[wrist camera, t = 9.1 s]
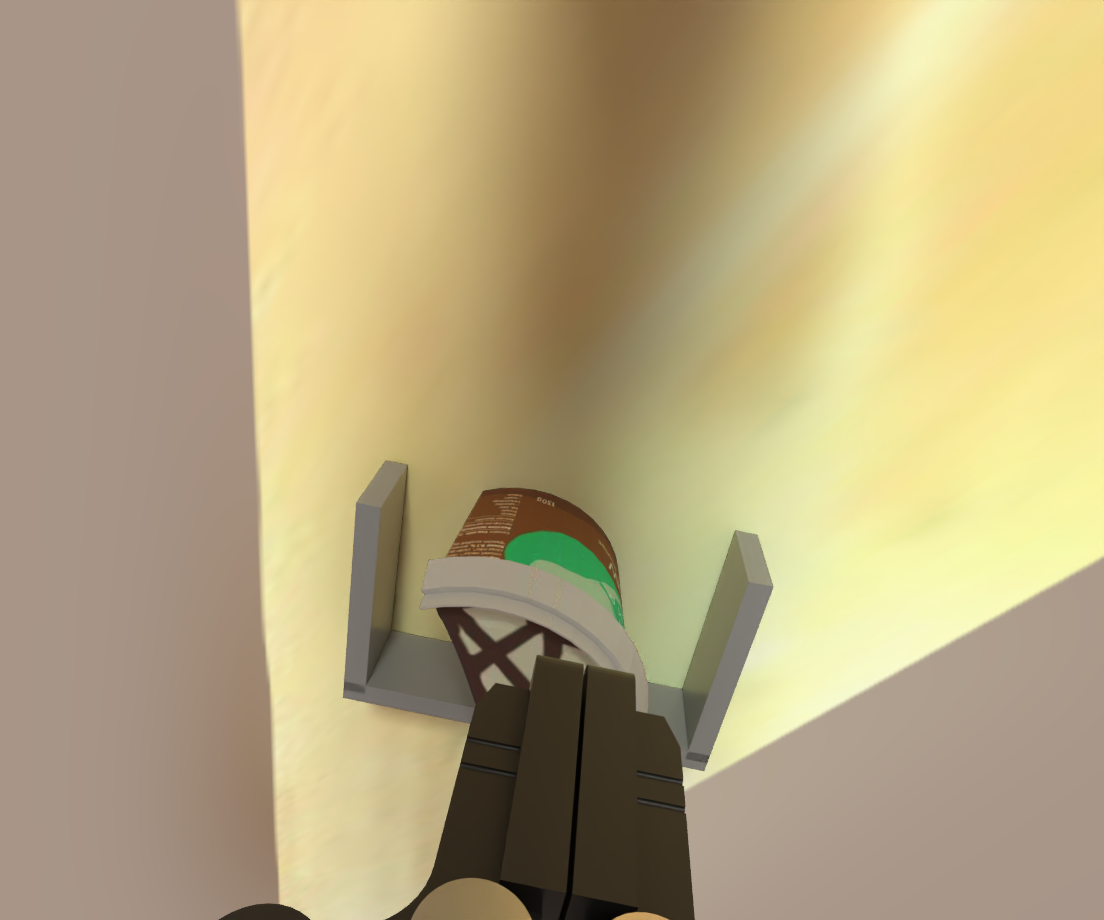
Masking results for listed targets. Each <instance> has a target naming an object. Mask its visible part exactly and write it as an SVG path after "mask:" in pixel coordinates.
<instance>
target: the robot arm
mask: <svg viewBox="0 0 1104 920" xmlns="http://www.w3.org/2000/svg"><path fill="white" fill-rule="evenodd" d="M583 673H584V674H583ZM682 783H683V772H682V760H681V748H680V745H679V744H678V742H677V740H676V738H675V736H674V734H673V732H672V730H671V728H670V727H669V725H668V723H667V721H666V719H665V717H664V716H659V715H654V714H649V713H644V712H639V711H636V680H635V675H634V674H632V673H627V672H622V671H618V670H613V669H608V668H603V667H598V666H593V665H588V664H587V665H586V668H585V671H584V664H582V663H577V662H572V661H567V660H562V659H557V658H552V657H547V656H542V655H537V656H536V660H535V664H534V669H533V674H532V678H531V683H530V688H529V689H524V688H519V687H514V686H509V685H504V684H499V683H495V684H494V685H493V686H492V687H491V688H490V690H489V691H488V692H487V693H486V694H485V695H484V696H483V698H482V699H481V700H480V701H479V702H478V703H477V704H476V705H475V708H474V712H473V716H472V720H471V724H470V728H469V732H468V735H467V740H466V743H465V747H464V751H463V755H462V759H461V763H460V768H459V771H458V775H457V778H456V782H455V786H454V790H453V794H452V798H451V802H450V806H449V810H448V814H447V818H446V821H445V825H444V829H443V833H442V837H441V841H440V845H439V849H438V853H437V857H436V860H435V864H434V868H433V870H432V873H431V876H430V878H429V880H428V882H427V884H426V886H425V887H424V888H423V890H422V891H421V892H420V894H419V895H418V896H417V897H416V898H415V899H414V900H413V901H412V902H411V903H410V904H409V905H408V906H407V907H405V908H404V909H403V910H401V911H400V912H399V913H397V914H395V915H393V916H391V917H390V918H388V919H385V920H695V918H694V907H693V894H692V882H691V869H690V857H689V846H688V834H687V822H686V814H685V813H684V812H685V796H684V786H682ZM219 920H310V919H309V918H308V917H307V916H305V915H304V914H303V913H301V912H300V911H298V910H295V909H293V908H291V907H288V906H284V905H280V904H257V905H252V906H248V907H244V908H241V909H239V910H236V911H234V912H232V913H230V914H228V915H226V916H224V917H223V918H221V919H219Z"/></svg>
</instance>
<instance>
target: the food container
mask: <svg viewBox="0 0 1104 920" xmlns="http://www.w3.org/2000/svg"><path fill="white" fill-rule="evenodd" d="M421 590H422V592H423V594H424V596H423V599H422V602H421V604H420V607H419V608H420V610H421V609H430V608H437V612H438V615H439V616H440V618H441V619H442V621H443V623H444V625H445V627H446V629H447V631H448V633H449V635H450V638H451V640H452V643H453V645H454V647H455V650H456V652H457V655H458V657H459V660H460V662H461V665H462V668H463V670H464V673H465V676H466V678H467V681H468V684H469V687H470V690H471V693H472V696H473V699H474V702H475V704H477V703H478V702H479V701H480V700H481V699H482V698H483V696H484V695H485V694H486V693H487V692H488V691H489V690H490V688H491V687H492V686H493V685H494V684H495V683H499V684H504V685H509V686H514V687H519V688H524V689H529V688H530V683H531V678H532V674H533V669H534V664H535V660H536V656H537V655H542V656H547V657H552V658H557V659H562V660H567V661H572V662H577V663H582V664H584V671H585V668H586V665H587V664H588V665H593V666H598V667H603V668H608V669H613V670H618V671H622V672H627V673H632V674H634V675H635V680H636V711H639V712H644V713H647V711H648V684H647V679H646V674H645V669H644V666H643V663H642V661H641V659H640V656H639V654H638V651H637V649H636V647H635V645H634V644H633V642H632V640H631V639H630V637H629V636H628V634H627V633H626V631H625V628H624V619H623V610H622V600H621V591H620V582H619V573H618V566H617V561H616V556H615V553H614V550H613V548H612V546H611V543H610V541H609V540H608V538H607V536H606V535H605V533H604V532H603V530H602V529H601V528H600V527H599V526H598V524H597V523H596V522H595V521H594V520H593V519H592V518H591V517H590V516H588V515H587V514H586V513H585V512H583V511H582V510H581V509H580V508H578V507H576V506H575V505H573V504H571V503H569V502H568V501H566V500H564V499H561V498H559V497H556V496H554V495H552V494H548V493H544V492H541V491H537V490H531V489H523V488H499V489H492V490H486V491H483V492H482V494H481V495H480V497H479V499H478V501H477V503H476V504H475V506H474V508H473V510H472V511H471V513H470V515H469V517H468V518H467V520H466V522H465V524H464V526H463V527H462V529H461V531H460V533H459V534H458V536H457V538H456V540H455V542H454V543H453V545H452V547H451V549H450V550H449V552H448V554H447V556H446V557H445V558H440V559H432V560H429V561H428V565H427V569H426V573H425V577H424V581H423V585H422V589H421ZM583 674H584V673H583Z"/></svg>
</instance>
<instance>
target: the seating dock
mask: <svg viewBox="0 0 1104 920" xmlns="http://www.w3.org/2000/svg"><path fill="white" fill-rule="evenodd" d="M407 467H408V465H406V464H401V463H396V462H391V461H385V462H384V464H383V465H382V467H381V468H380V470H379V471H378V472H377V474H376V475H375V477H374V478H373V480H372V481H371V483H370V484H369V485H368V487H367V488H366V490H365V491H364V493H363V494H362V495H361V497H360V498H359V500H358V501H357V503H356V515H355V530H354V545H353V560H352V574H351V589H350V604H349V619H348V634H347V648H346V663H345V678H344V693H343V698H347V699H352V700H357V701H362V702H367V703H372V704H377V705H381V706H386V707H391V708H396V709H401V710H406V711H411V712H416V713H421V714H426V715H431V716H436V717H440V718H445V719H450V720H455V721H460V722H465V723H470V724H471V720H472V716H473V712H474V708H475V705H476V704H475V702H474V699H473V696H472V693H471V690H470V687H469V684H468V681H467V678H466V676H465V673H464V670H463V668H462V665H461V662H460V660H459V657H458V655H457V652H456V650H455V647H454V645H453V643H451V642H446V641H441V640H436V639H431V638H427V637H422V636H417V635H412V634H407V633H402V632H397V631H392V630H391V626H392V616H393V606H394V596H395V586H396V576H397V566H398V556H399V546H400V536H401V526H402V516H403V506H404V496H405V487H406V477H407ZM772 589H773V584H772V580H771V577H770V574H769V571H768V568H767V564H766V561H765V558H764V555H763V551H762V548H761V545H760V542H759V539H758V535H755V534H750V533H745V532H740V531H735V533H734V536H733V539H732V542H731V545H730V548H729V551H728V554H727V557H726V560H725V563H724V566H723V569H722V572H721V575H720V578H719V581H718V584H717V587H716V590H715V593H714V596H713V599H712V602H711V605H710V608H709V611H708V614H707V617H706V620H705V623H704V626H703V629H702V632H701V635H700V638H699V641H698V644H697V647H696V650H695V653H694V656H693V659H692V662H691V665H690V668H689V671H688V674H687V677H686V680H685V683H684V686H683V689H678V688H673V687H669V686H664V685H659V684H654V683H649V682H647V684H648V711H647V713H649V714H654V715H659V716H664V717H665V719H666V721H667V723H668V725H669V727H670V728H671V730H672V732H673V734H674V736H675V738H676V740H677V742H678V744H679V745H680V748H681V760H682V767H686V768H691V769H696V770H701V771H704V770H705V767H706V765H707V762H708V759H709V757H710V754H711V751H712V749H713V746H714V743H715V741H716V738H717V735H718V733H719V730H720V727H721V725H722V722H723V719H724V717H725V714H726V711H727V709H728V706H729V703H730V701H731V698H732V696H733V693H734V690H735V688H736V685H737V682H738V680H739V677H740V674H741V672H742V669H743V666H744V664H745V661H746V658H747V656H748V653H749V650H750V648H751V645H752V642H753V640H754V637H755V634H756V632H757V629H758V626H759V624H760V621H761V619H762V616H763V613H764V611H765V608H766V605H767V603H768V600H769V597H770V595H771V592H772Z"/></svg>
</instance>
